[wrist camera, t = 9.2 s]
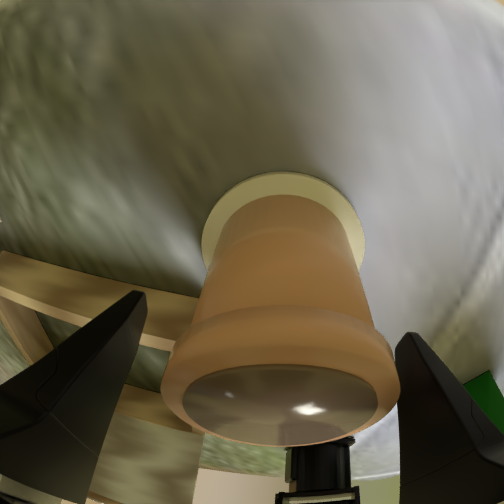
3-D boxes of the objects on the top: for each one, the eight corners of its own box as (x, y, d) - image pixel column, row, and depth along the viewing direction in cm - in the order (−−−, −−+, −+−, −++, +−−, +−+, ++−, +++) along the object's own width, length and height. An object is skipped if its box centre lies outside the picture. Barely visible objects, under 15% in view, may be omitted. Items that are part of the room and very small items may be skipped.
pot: (376, 206, 11) (450, 359, 5) (329, 315, 14) (342, 452, 8) (217, 174, 11) (143, 323, 5) (206, 295, 14) (169, 433, 8)
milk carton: (414, 404, 22) (429, 589, 5) (497, 360, 18) (536, 547, 1) (430, 423, 25) (444, 567, 9) (497, 389, 21) (525, 534, 5)
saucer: (383, 192, 11) (387, 198, 10) (333, 313, 15) (334, 321, 15) (211, 157, 11) (207, 162, 10) (201, 291, 15) (198, 299, 14)
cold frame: (219, 302, 15) (169, 534, 6) (209, 408, 23) (188, 527, 14) (3, 250, 15) (-88, 371, 5) (57, 363, 23) (15, 456, 14)
